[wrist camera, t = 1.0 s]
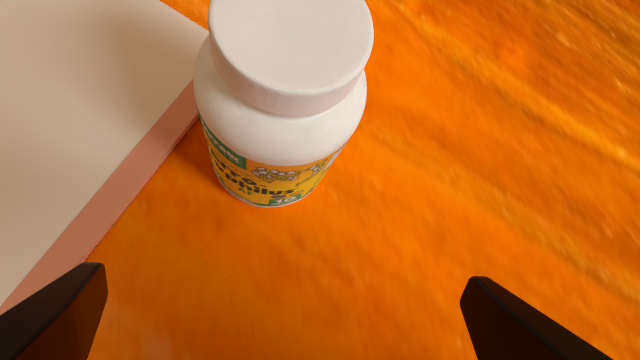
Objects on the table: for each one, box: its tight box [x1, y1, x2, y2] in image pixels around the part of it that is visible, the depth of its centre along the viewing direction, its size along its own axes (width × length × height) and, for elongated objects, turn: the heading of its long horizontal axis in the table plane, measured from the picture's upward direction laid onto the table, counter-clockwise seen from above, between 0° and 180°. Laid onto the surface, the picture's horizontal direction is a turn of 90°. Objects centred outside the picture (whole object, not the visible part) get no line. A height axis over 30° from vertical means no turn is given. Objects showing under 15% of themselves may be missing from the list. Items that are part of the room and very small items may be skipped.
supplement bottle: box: [193, 0, 374, 208], centre depth 18 cm, size 7×7×13 cm
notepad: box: [0, 0, 209, 315], centre depth 21 cm, size 22×14×1 cm, turn 149°
